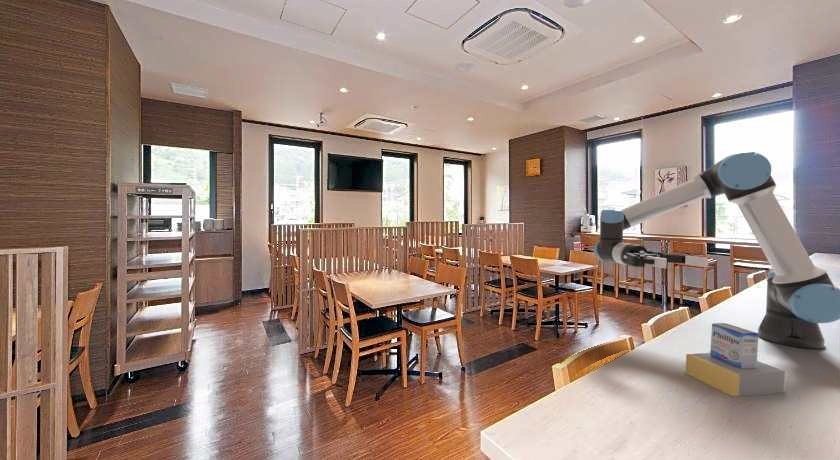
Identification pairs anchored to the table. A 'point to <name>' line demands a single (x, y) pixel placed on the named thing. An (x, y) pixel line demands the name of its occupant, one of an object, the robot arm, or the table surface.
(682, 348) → the table surface
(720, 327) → the medicine box
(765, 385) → the block
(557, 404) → the table surface
